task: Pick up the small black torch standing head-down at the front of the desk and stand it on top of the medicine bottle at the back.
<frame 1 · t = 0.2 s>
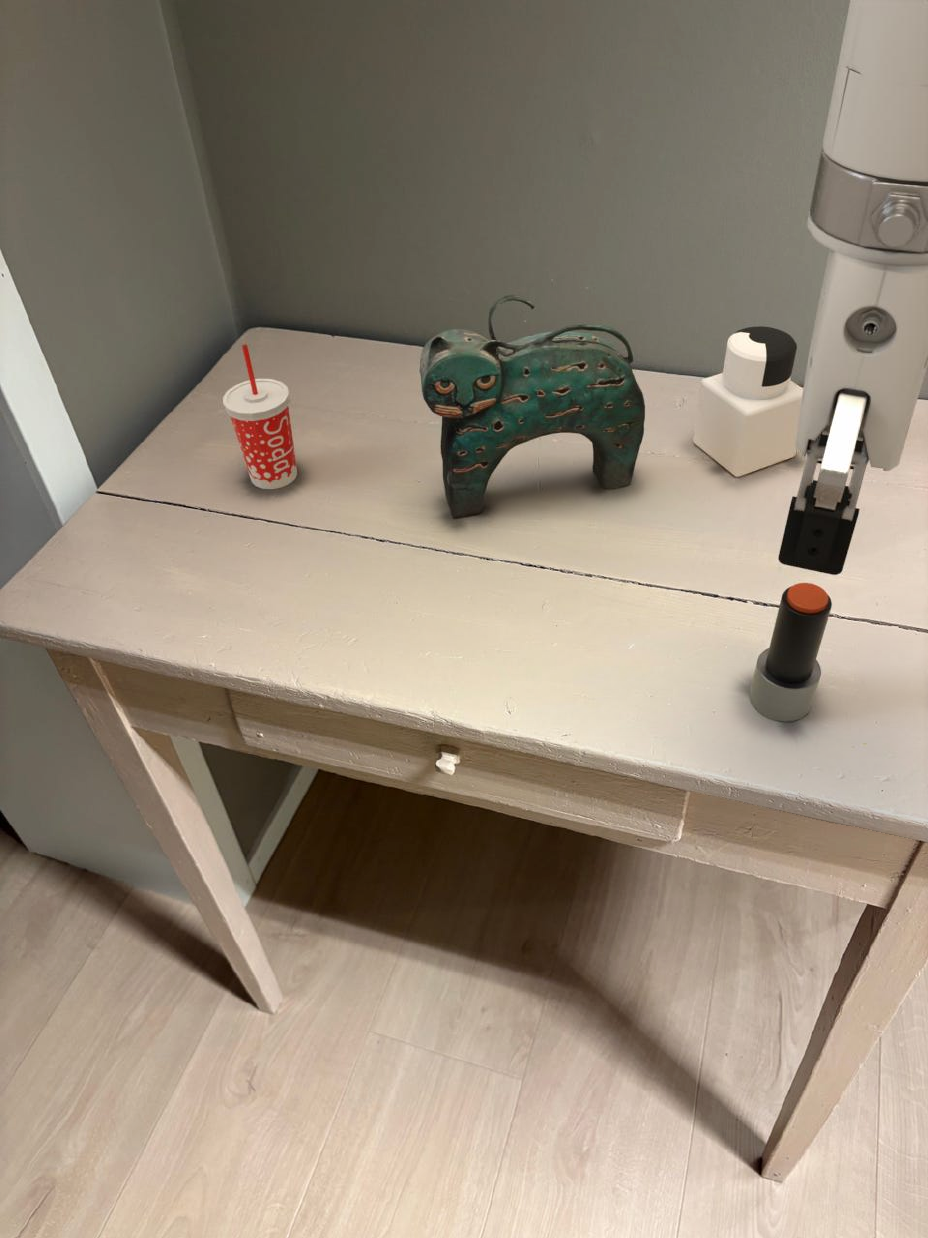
hand: (822, 511, 53), 21 cm above the table, tool pointing down, fingers open, 9 cm apart
medicine bottle: (742, 451, 94), on the table
ceramic cat: (533, 492, 91), on the table
torch: (780, 699, 71), on the table
beverage cup: (274, 477, 95), on the table
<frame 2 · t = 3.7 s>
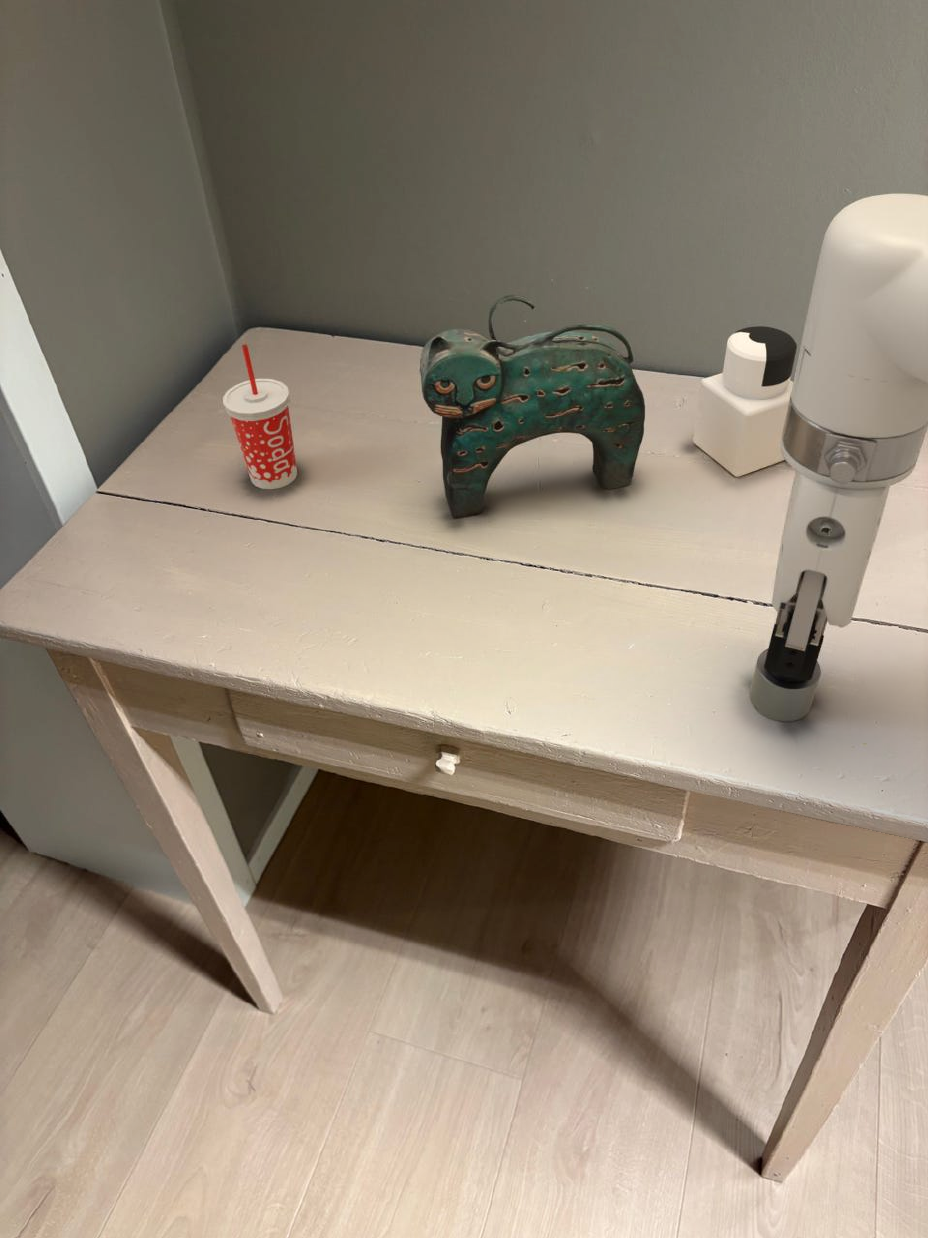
hand: (792, 651, 67), 5 cm above the table, tool pointing down, fingers closed on torch, 3 cm apart
torch: (780, 699, 71), on the table, touching gripper
everything else where it was.
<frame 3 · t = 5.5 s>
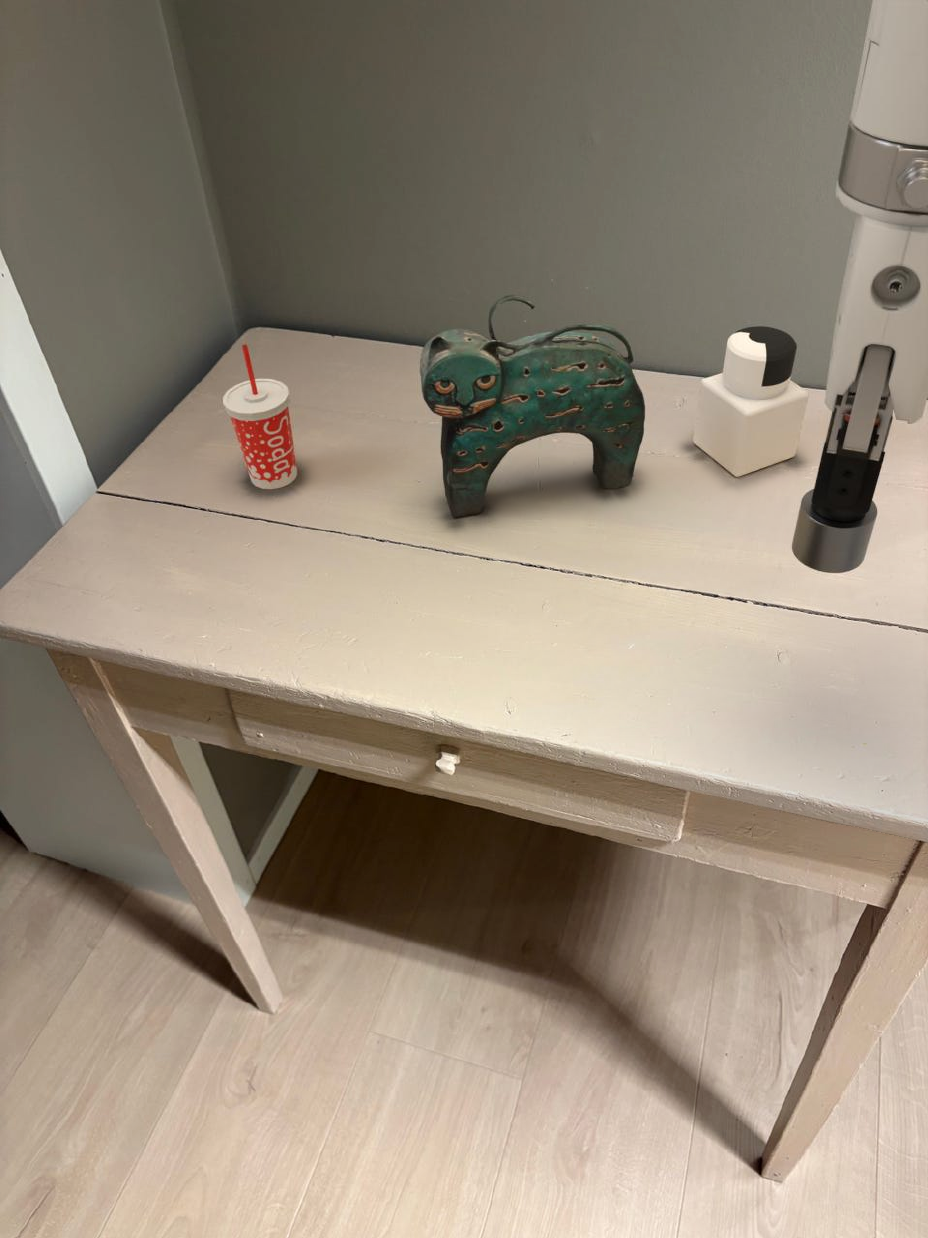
hand: (844, 485, 57), 20 cm above the table, tool pointing down, fingers closed on torch, 3 cm apart
torch: (827, 550, 61), point 14 cm above the table, touching gripper
everything else where it was.
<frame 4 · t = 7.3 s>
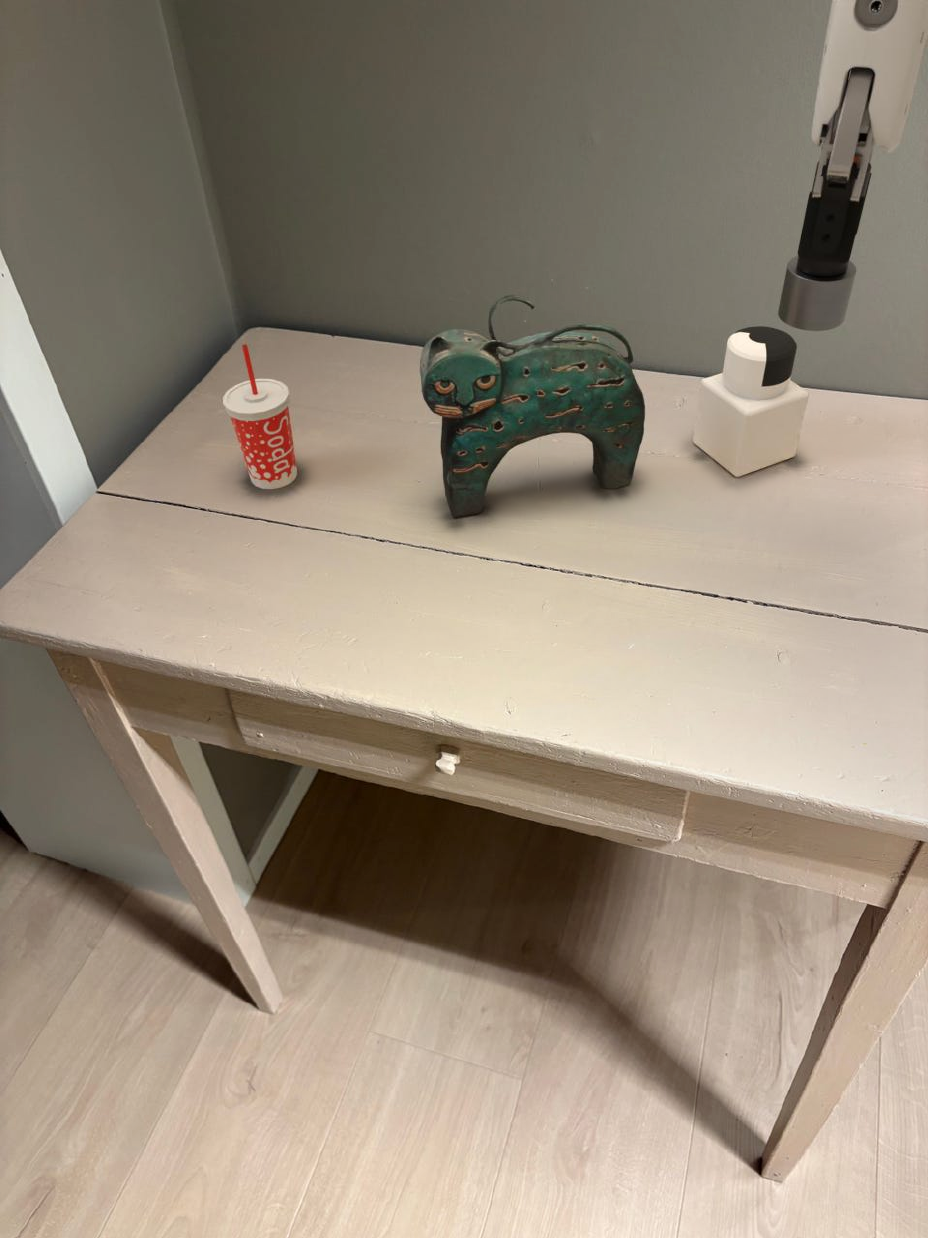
hand: (827, 243, 62), 28 cm above the table, tool pointing down, fingers closed on torch, 3 cm apart
torch: (810, 315, 66), point 23 cm above the table, touching gripper
everything else where it was.
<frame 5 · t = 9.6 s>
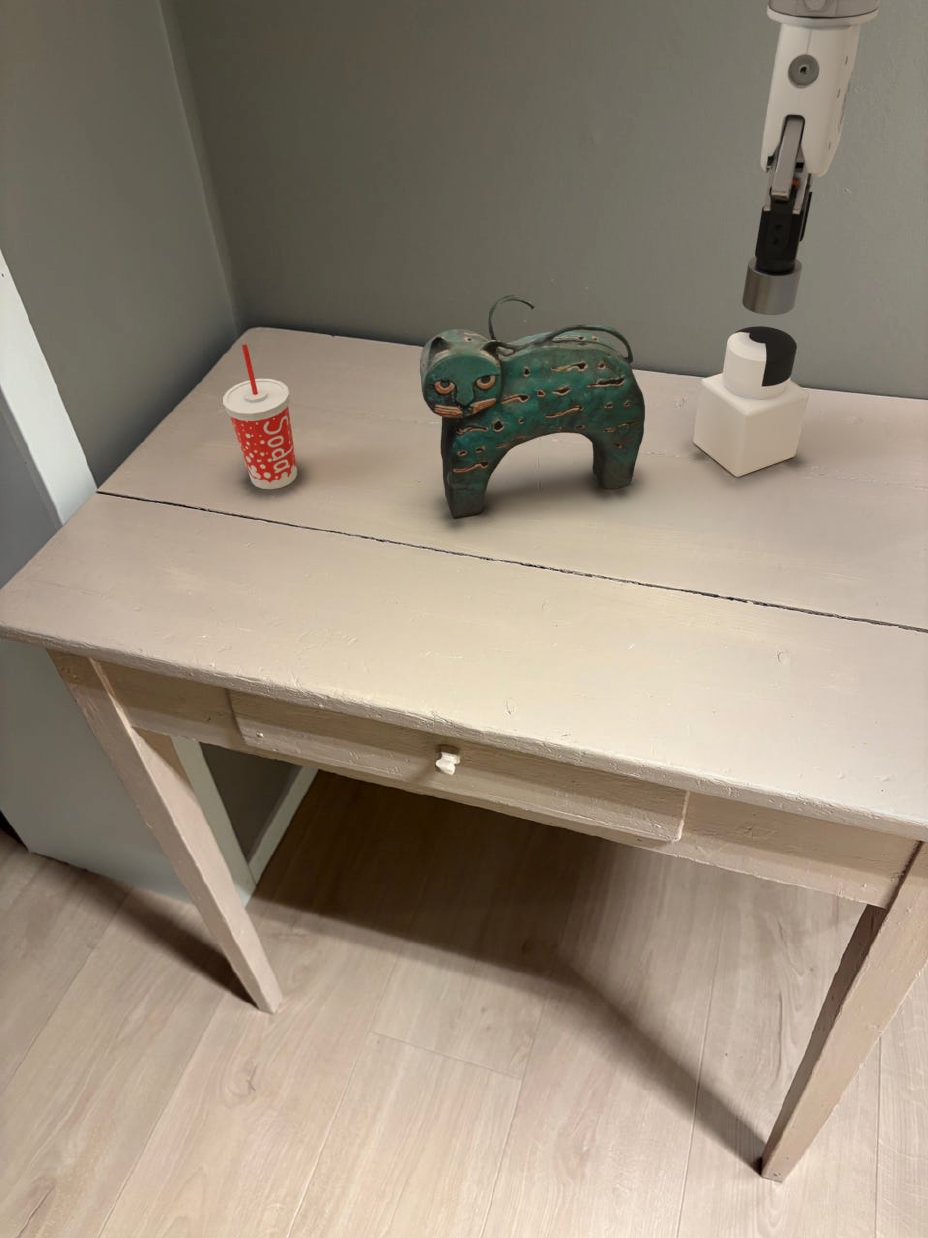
hand: (779, 246, 80), 20 cm above the table, tool pointing down, fingers closed on torch, 3 cm apart
torch: (768, 303, 83), point 15 cm above the table, touching gripper
everything else where it was.
when the fingers open (17 cm above the table, at t = 11.0 s): torch stays where it is, resting on medicine bottle.
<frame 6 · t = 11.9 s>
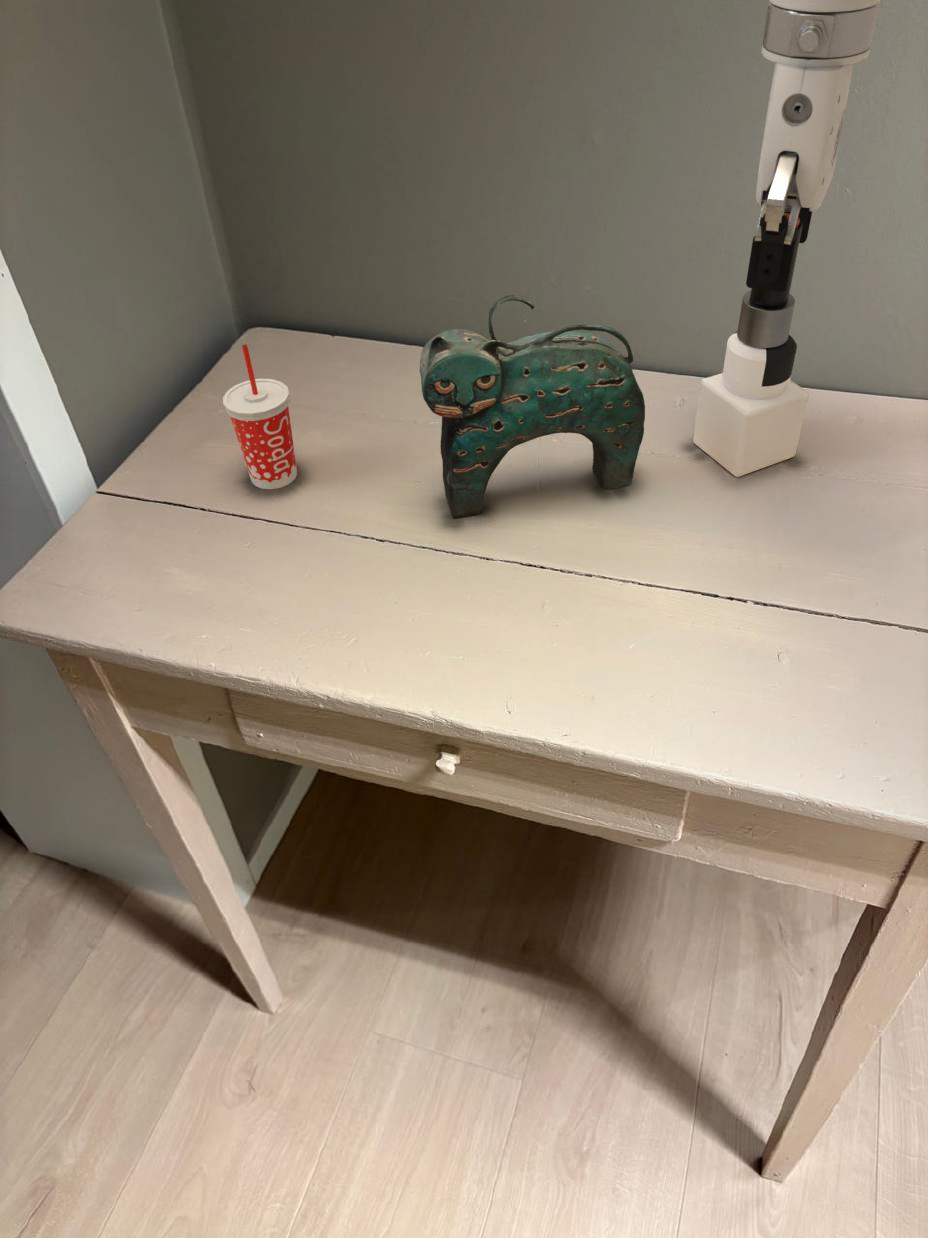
hand: (777, 263, 81), 19 cm above the table, tool pointing down, fingers open, 9 cm apart
medicine bottle: (742, 451, 94), on the table, touching torch
torch: (762, 336, 85), point 12 cm above the table, touching medicine bottle
everything else where it was.
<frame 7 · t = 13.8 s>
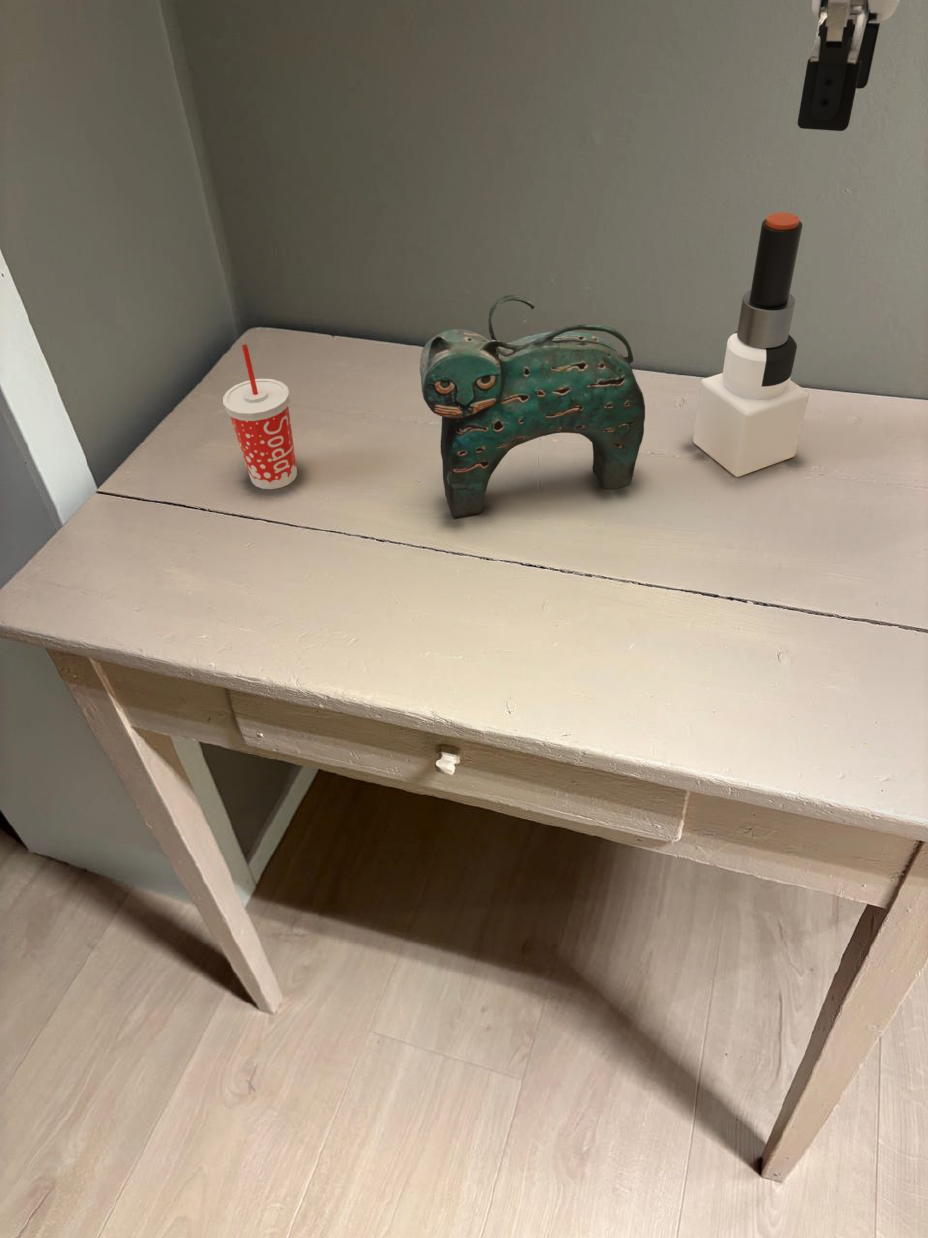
hand: (833, 106, 66), 33 cm above the table, tool pointing down, fingers open, 9 cm apart
nothing on the table moved.
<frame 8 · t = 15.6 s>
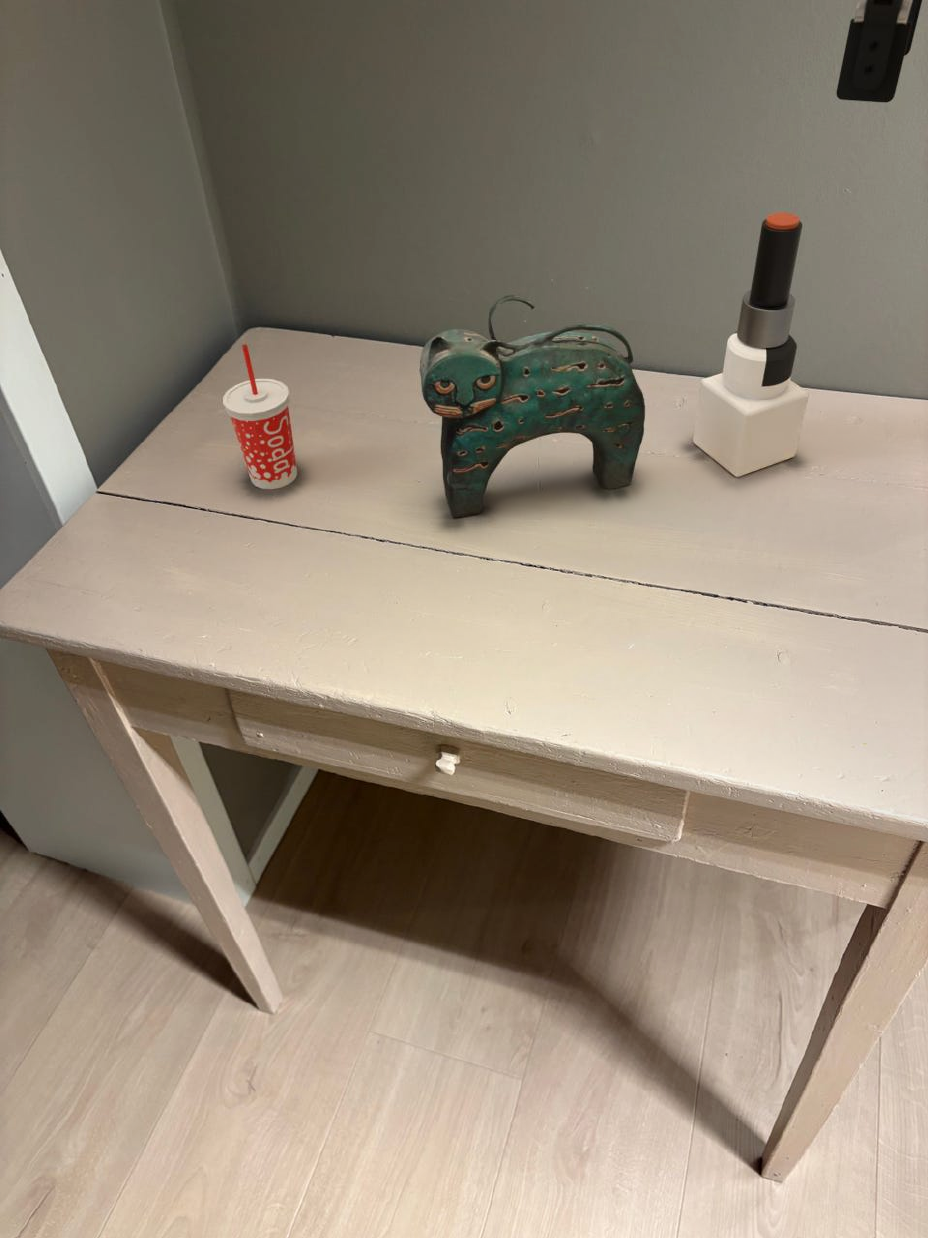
hand: (873, 75, 59), 36 cm above the table, tool pointing down, fingers open, 9 cm apart
nothing on the table moved.
at the end: torch 0.1 cm off-centre on the medicine bottle, point 12.2 cm above the medicine bottle's base; torch tilted 0°; medicine bottle tilted 0° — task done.
